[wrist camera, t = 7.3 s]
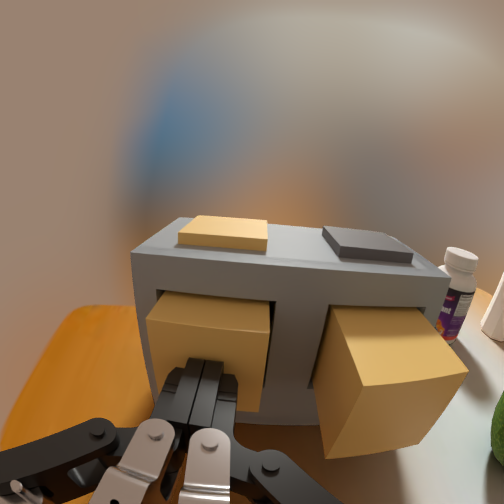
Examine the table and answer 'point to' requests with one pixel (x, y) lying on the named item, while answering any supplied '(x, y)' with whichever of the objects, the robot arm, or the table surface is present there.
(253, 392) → the button
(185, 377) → the robot arm
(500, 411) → the fruit
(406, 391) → the button
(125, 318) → the table surface
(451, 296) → the pill bottle
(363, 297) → the console
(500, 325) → the pepper shaker
